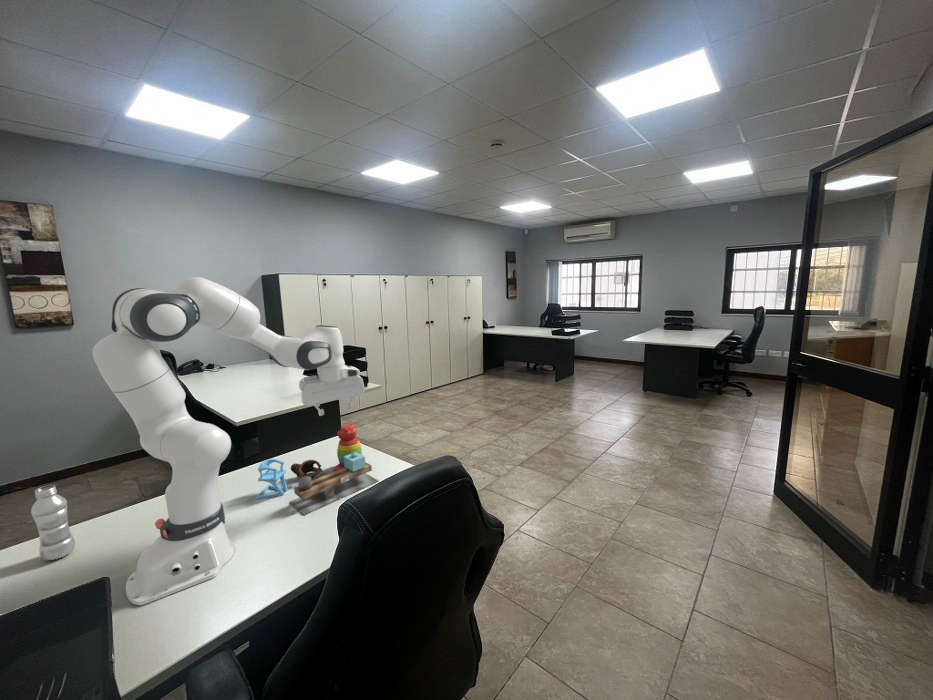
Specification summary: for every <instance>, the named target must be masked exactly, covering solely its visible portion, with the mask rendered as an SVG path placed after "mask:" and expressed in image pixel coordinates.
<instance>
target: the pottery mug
mask: <svg viewBox="0 0 933 700" xmlns="http://www.w3.org/2000/svg"><path fill="white" fill-rule="evenodd" d="M315 464H316V465H317V467H315V466H314V465H315ZM321 467H322V465H321V464H320V462H319V461H317V460H314V459H307V460H304V461H303V462H301V463H293V464H291V466H290V471H291V472H292V473H293V474H295V475H296V476H297V478H302V477H306V476H309V477H311V481H312V480H315V479H317V478H318V477H319V476H320V475H321V473H323V469H322V468H321Z"/></svg>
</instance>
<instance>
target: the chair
mask: <svg viewBox="0 0 933 700" xmlns="http://www.w3.org/2000/svg"><path fill="white" fill-rule="evenodd" d="M272 463H277V464H280V469H277V468H275V467H273V466H271V464H272ZM284 464H285V461H282V460H279V459H277V458H271V459H267V460H264V461H262V462H261V463H260V464H259V466H258V468H257V470H258V472H259V474H260V476H259V477H258V478H257V481H258V482H267V483H269V484H268V485H267V486H266V487H264V488H263V489H262V490H261V491H260V492H259V493H258V494H257V495H256V499H257V500H261V499H266V498H272V497H273V498H275V497H279V496H280V497H281V496H284V495H285V492H288V490H289V489H288V487H287V484H286V483H287V482H286V478H285V474H286V472H287V471H286V469H284ZM263 471H265V473H263ZM279 480H280V484H281V486H280V485H279V484H278V483H277V481H279ZM269 489H273V490H275V491H277V492H271V493H266V492H267V491H268V490H269Z"/></svg>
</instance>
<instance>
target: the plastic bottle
mask: <svg viewBox="0 0 933 700" xmlns="http://www.w3.org/2000/svg"><path fill="white" fill-rule="evenodd" d="M57 493H58V490H57V488H56V485H55V484H50V485H45V486H41V487H39V488H36V489H35V490H34V494H35V496H34V497H35V499H36V501H35V503H33V505H32V507H31V510H30V514H31V516H32V518H33V520H34V522H35V525H36V527H37V530H38V535H39V547H38V548H39V550H38V551H39V553H38V554H39V556H40V558H41V559H42V560H43V561H46V560H52V561H55V559H56V560H59V559H61V557H62V558H65V556H68V555H69V554H71V553H72V552H73V551H74V549H75V548H76V540H75V538H74V535H73V534H72V531H71V528H70V526H69V520H68V519H69V518H68V501H67V499H66V498H65V497H63V496H61V495H59V494H57ZM67 554H68V555H67ZM58 558H59V559H58Z"/></svg>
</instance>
